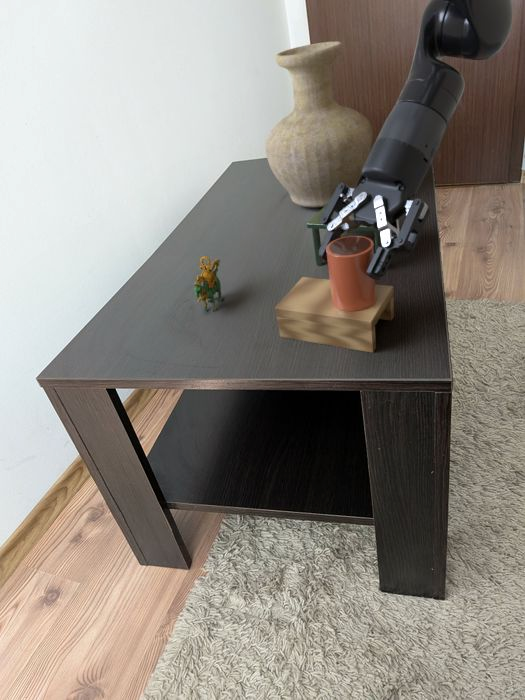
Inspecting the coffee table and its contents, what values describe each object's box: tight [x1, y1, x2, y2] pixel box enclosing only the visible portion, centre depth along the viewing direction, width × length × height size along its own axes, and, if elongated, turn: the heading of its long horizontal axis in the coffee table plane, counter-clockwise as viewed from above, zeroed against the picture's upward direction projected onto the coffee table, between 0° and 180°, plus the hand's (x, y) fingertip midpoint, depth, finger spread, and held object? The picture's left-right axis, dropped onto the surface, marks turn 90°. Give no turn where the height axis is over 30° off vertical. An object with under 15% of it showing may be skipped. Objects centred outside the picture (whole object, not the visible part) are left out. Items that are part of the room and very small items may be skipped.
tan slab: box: [274, 276, 395, 354], centre depth 72 cm, size 14×9×5 cm, turn 61°
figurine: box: [193, 256, 223, 312], centre depth 84 cm, size 3×12×8 cm, turn 167°
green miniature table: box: [306, 202, 401, 266], centre depth 88 cm, size 13×11×8 cm
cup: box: [326, 235, 377, 311], centre depth 67 cm, size 6×6×8 cm
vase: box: [265, 40, 374, 208], centre depth 106 cm, size 22×22×30 cm
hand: (347, 268), depth 66 cm, fingers open, 8 cm apart
